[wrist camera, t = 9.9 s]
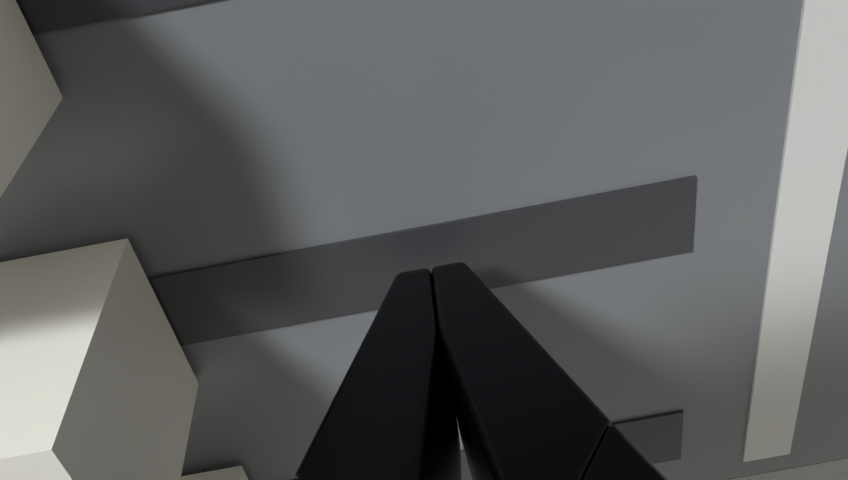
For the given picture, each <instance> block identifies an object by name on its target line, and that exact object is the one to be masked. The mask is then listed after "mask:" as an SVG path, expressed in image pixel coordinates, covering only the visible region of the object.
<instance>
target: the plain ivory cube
mask: <svg viewBox="0 0 848 480" xmlns="http://www.w3.org/2000/svg"><path fill="white" fill-rule="evenodd" d="M180 480H248V478H247V476H246V474H245V472H244V469H243V467H242V465H241V466H236V467H230V468H225V469H219V470H214V471H208V472H203V473H197V474H192V475H186V476H181V479H180Z"/></svg>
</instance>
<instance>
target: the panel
mask: <svg viewBox="0 0 848 480" xmlns="http://www.w3.org/2000/svg"><path fill="white" fill-rule="evenodd" d="M16 2H17V4H18V6H19V8H20V10H21V12H22V14H23V16H24V18H25V20H26V22H27V24H28V26H29V29H30V31H31V33H32V35H33V37H34V39H35V41H36V43H37V45H38V47H39V49H40V51H41V53H42V55H43V57H44V59H45V61H46V64H47V66H48V68H49V70H50V72H51V74H52V76H53V78H54V80H55V82H56V84H57V86H58V88H59V90H60V92H61V94H62V97H63V99H62V100H61V102H60V104H59V105H58V107H57V108H56V110H55V112H54V113H53V115H52V116H51V118H50V120H49V121H48V123H47V124H46V126H45V128H44V129H43V131H42V132H41V134H40V136H39V137H38V139H37V140H36V142H35V143H34V145H33V147H32V148H31V150H30V151H29V153H28V155H27V156H26V158H25V159H24V161H23V163H22V164H21V166H20V167H19V169H18V171H17V172H16V174H15V175H14V177H13V179H12V180H11V182H10V183H9V185H8V186H7V188H6V190H5V191H4V193H3V194H2V196H1V198H0V262H4V261H10V260H15V259H20V258H26V257H31V256H36V255H42V254H47V253H52V252H57V251H63V250H68V249H73V248H79V247H84V246H89V245H95V244H100V243H105V242H111V241H116V240H121V239H127V238H128V240H129V242H130V244H131V246H132V248H133V250H134V252H135V254H136V256H137V258H138V260H139V262H140V264H141V266H142V268H143V270H144V273H145V275H146V277H147V279H148V281H149V283H150V285H151V287H152V289H153V291H154V293H155V295H156V297H157V299H158V301H159V303H160V305H161V307H162V309H163V311H164V313H165V316H166V318H167V320H168V322H169V324H170V326H171V328H172V330H173V332H174V334H175V336H176V338H177V340H178V342H179V344H180V346H181V348H182V350H183V352H184V354H185V356H186V358H187V361H188V363H189V365H190V367H191V369H192V371H193V373H194V375H195V377H196V379H197V381H198V383H199V384H198V389H197V394H196V400H195V405H194V410H193V415H192V421H191V426H190V431H189V437H188V442H187V447H186V452H185V458H184V463H183V468H182V474H181V476H186V475H192V474H197V473H203V472H208V471H214V470H219V469H225V468H230V467H236V466H241V465H242V467H243V469H244V472H245V474H246V476H247V478H248V480H293V479H295V478H296V476H295V474H296V472H297V470H298V468H299V466H300V464H301V462H302V460H303V458H304V456H305V454H306V452H307V450H308V448H309V446H310V444H311V442H312V440H313V438H314V436H315V434H316V432H317V430H318V428H319V426H320V424H321V422H322V420H323V418H324V416H325V414H326V413H327V411H328V409H329V407H330V405H331V403H332V401H333V399H334V397H335V395H336V393H337V391H338V389H339V387H340V385H341V383H342V381H343V379H344V377H345V375H346V373H347V371H348V369H349V367H350V365H351V363H352V361H353V359H354V357H355V355H356V354H357V352H358V350H359V348H360V346H361V344H362V342H363V340H364V338H365V336H366V334H367V332H368V330H369V328H370V326H371V324H372V322H373V320H374V318H375V316H376V314H377V312H378V310H379V308H380V306H381V304H382V302H383V300H384V298H385V296H386V295H387V293H388V291H389V289H390V287H391V285H392V283H393V281H394V279H395V277H396V276H397V275H398V274H399V273H401V272H406V271H412V270H418V269H423V268H426V269H429V270H430V271H431V274H432V269H433V268H434V267H436V266H440V265H446V264H452V263H457V262H463V263H465V264H466V265H467V266H468V267H469V268H470V269H471V270H472V271H473V272H474V273H475V274H476V275H477V276H478V277H479V279H480V280H481V281H482V282H483V283H484V284H485V285H486V286H487V287H488V288H489V289H490V290H491V292H492V293H493V294H494V295H495V296H496V297H497V298H498V299H499V300H500V301H501V302H502V303H503V305H504V306H505V307H506V308H507V309H508V310H509V311H510V312H511V313H512V314H513V315H514V316H515V318H516V319H517V320H518V321H519V322H520V323H521V324H522V325H523V326H524V327H525V328H526V329H527V330H528V332H529V333H530V334H531V335H532V336H533V337H534V338H535V339H536V340H537V341H538V342H539V343H540V345H541V346H542V347H543V348H544V349H545V350H546V351H547V352H548V353H549V354H550V355H551V356H552V358H553V359H554V360H555V361H556V362H557V363H558V364H559V365H560V366H561V367H562V368H563V369H564V371H565V372H566V373H567V374H568V375H569V376H570V377H571V378H572V379H573V380H574V381H575V382H576V384H577V385H578V386H579V387H580V388H581V389H582V390H583V391H584V392H585V393H586V394H587V395H588V396H589V398H590V399H591V400H592V401H593V402H594V403H595V404H596V405H597V406H598V407H599V408H600V409H601V411H602V412H603V413H604V414H605V415H606V416H607V417H608V418H609V419H610V420H611V423H612V425H615V426H617V427H618V428H619V430H620V431H621V432H622V433H623V434H624V435H625V436H626V437H627V438H628V439H629V440H630V441H631V443H632V444H633V445H634V446H635V447H636V448H637V449H638V450H639V451H640V452H641V453H642V454H643V455H644V456H645V457H646V458H647V459H648V460H649V461H650V462H651V463H652V464H653V465H654V466H655V467H656V468H657V469H658V470H659V471H660V472H661V473H662V474H663V475H664V476H665V477H666V478H667V479H668V480H729V479H734V478H740V477H745V476H751V475H757V474H762V473H768V472H774V471H779V470H785V469H790V468H796V467H802V466H807V465H813V464H819V463H824V462H830V461H835V460H841V459H847V458H848V0H16ZM457 422H458V421H457ZM458 430H459V426H458ZM459 438H460V453H461V480H473V479H472V476H471V473H470V469H469V466H468V462H467V459H466V456H465V452H464V448H463V444H462V440H461V436H460V431H459Z"/></svg>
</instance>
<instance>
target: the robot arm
mask: <svg viewBox="0 0 848 480" xmlns="http://www.w3.org/2000/svg"><path fill="white" fill-rule="evenodd" d="M457 421H458V422H457ZM458 426H459V430H458ZM459 431H460V436H461V440H462V444H463V448H464V452H465V456H466V459H467V462H468V466H469V469H470V473H471V476H472V479H473V480H668V479H667V478H666V477H665V476H664V475H663V474H662V473H661V472H660V471H659V470H658V469H657V468H656V467H655V466H654V465H653V464H652V463H651V462H650V461H649V460H648V459H647V458H646V457H645V456H644V455H643V454H642V453H641V452H640V451H639V450H638V449H637V448H636V447H635V446H634V445H633V444H632V443H631V441H630V440H629V439H628V438H627V437H626V436H625V435H624V434H623V433H622V432H621V431H620V430H619V428H618V427H617V426H615V425H612V423H611V420H610V419H609V418H608V417H607V416H606V415H605V414H604V413H603V412H602V411H601V409H600V408H599V407H598V406H597V405H596V404H595V403H594V402H593V401H592V400H591V399H590V398H589V396H588V395H587V394H586V393H585V392H584V391H583V390H582V389H581V388H580V387H579V386H578V385H577V384H576V382H575V381H574V380H573V379H572V378H571V377H570V376H569V375H568V374H567V373H566V372H565V371H564V369H563V368H562V367H561V366H560V365H559V364H558V363H557V362H556V361H555V360H554V359H553V358H552V356H551V355H550V354H549V353H548V352H547V351H546V350H545V349H544V348H543V347H542V346H541V345H540V343H539V342H538V341H537V340H536V339H535V338H534V337H533V336H532V335H531V334H530V333H529V332H528V330H527V329H526V328H525V327H524V326H523V325H522V324H521V323H520V322H519V321H518V320H517V319H516V318H515V316H514V315H513V314H512V313H511V312H510V311H509V310H508V309H507V308H506V307H505V306H504V305H503V303H502V302H501V301H500V300H499V299H498V298H497V297H496V296H495V295H494V294H493V293H492V292H491V290H490V289H489V288H488V287H487V286H486V285H485V284H484V283H483V282H482V281H481V280H480V279H479V277H478V276H477V275H476V274H475V273H474V272H473V271H472V270H471V269H470V268H469V267H468V266H467V265H466V264H465V263H463V262H457V263H452V264H446V265H440V266H436V267H434V268H433V269H432V274H431V271H430V270H429V269H426V268H423V269H418V270H412V271H406V272H401V273H399V274H398V275H397V276H396V277H395V279H394V281H393V283H392V285H391V287H390V289H389V291H388V293H387V295H386V296H385V298H384V300H383V302H382V304H381V306H380V308H379V310H378V312H377V314H376V316H375V318H374V320H373V322H372V324H371V326H370V328H369V330H368V332H367V334H366V336H365V338H364V340H363V342H362V344H361V346H360V348H359V350H358V352H357V354H356V355H355V357H354V359H353V361H352V363H351V365H350V367H349V369H348V371H347V373H346V375H345V377H344V379H343V381H342V383H341V385H340V387H339V389H338V391H337V393H336V395H335V397H334V399H333V401H332V403H331V405H330V407H329V409H328V411H327V413H326V414H325V416H324V418H323V420H322V422H321V424H320V426H319V428H318V430H317V432H316V434H315V436H314V438H313V440H312V442H311V444H310V446H309V448H308V450H307V452H306V454H305V456H304V458H303V460H302V462H301V464H300V466H299V468H298V470H297V472H296V474H295V476H296V478H295V479H293V480H461V453H460V438H459Z"/></svg>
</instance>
